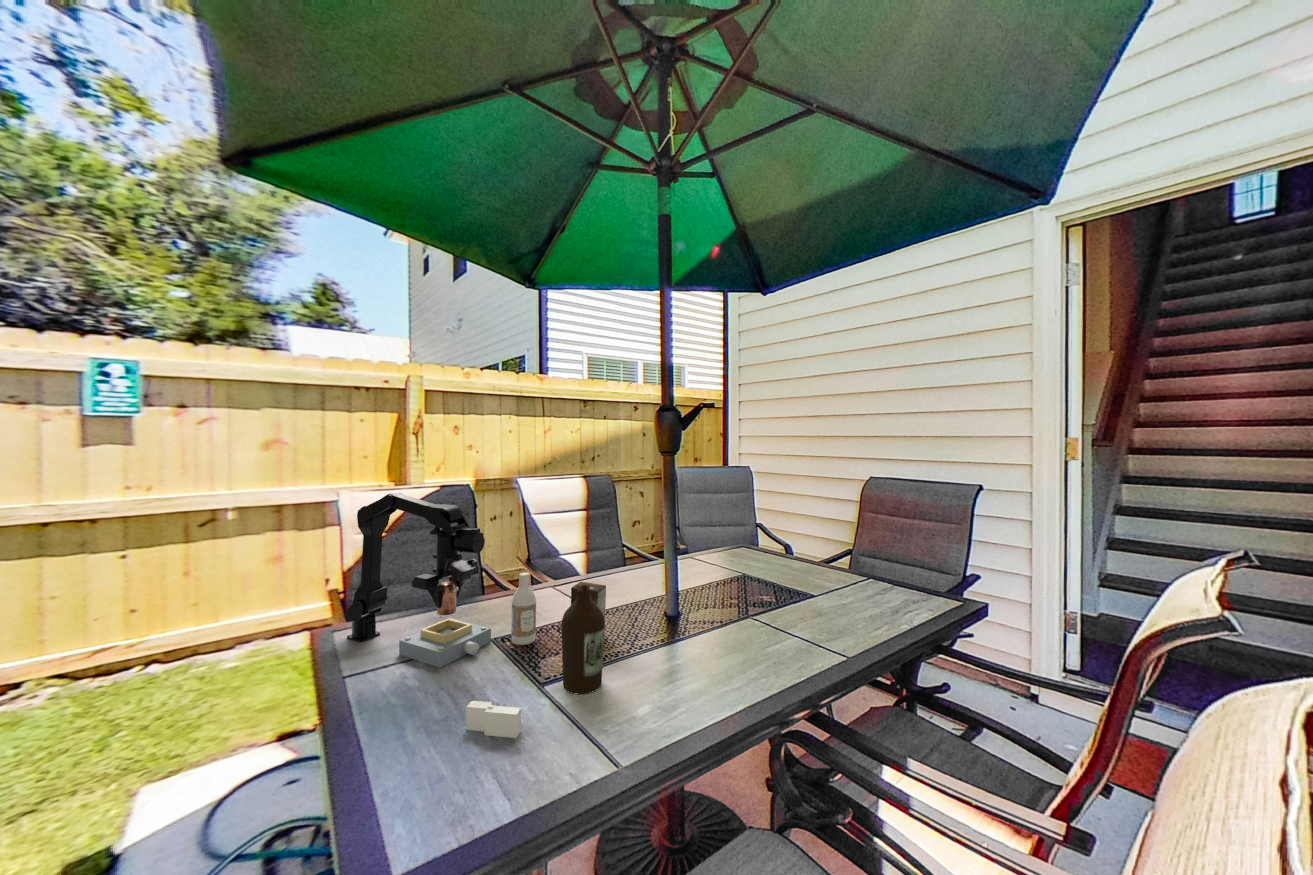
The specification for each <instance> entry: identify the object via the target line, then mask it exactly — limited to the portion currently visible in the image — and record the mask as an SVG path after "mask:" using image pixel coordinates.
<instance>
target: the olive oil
mask: <svg viewBox="0 0 1313 875" xmlns="http://www.w3.org/2000/svg"><path fill="white" fill-rule="evenodd" d="M580 582H581V583H579V582H578V583H576V584H577V599H576V600H575V602H574V603H573V604H572V605H571V604H570V606H569V607H568V608H567V609H566V610H565V612H564V613H563V616H562V618H561V623H560V624H561V625H560V628H561V653H562V654H561V656H562V686H564V687H563V689H564V688H565V689H566V690H567V691H566V690H565V689H564V690H565V691H566V692H568V691H569V692H568V693H570V692H572V693H571V694H573V693H578V694H577V695H585V694H584V693H588V694H590V693H589V692H591V693H593V692H592V691H594V692H596V691H597V690H598V688H599V687H601V686H602V681H603V680H602V678H603V668H604V666H605V661H604V644H605V642H604V641H605V638H604V630H605V631H606V619H605V620H604V616H603V613H602V611H601V610H600V608H599V607H598V606H597V605H596V604H595V603H594V602H593V601H592V600H591V599H590V590H591V589H590V583H591V582H587V581H580ZM596 689H597V690H596ZM599 689H600V688H599ZM595 690H596V691H595Z"/></svg>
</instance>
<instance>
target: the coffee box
mask: <svg viewBox="0 0 1313 875" xmlns="http://www.w3.org/2000/svg"><path fill="white" fill-rule="evenodd" d="M581 582H582V581H580V582H578V583H581ZM578 583H576V584H575V585H573V586H571V589H570V606H571V605H572V604H573V603H574V602H575V600H576V599H577V584H578ZM589 583H590V589H591V590H590V599H591V600H592V601H593V602H594V603H595V604H596V605H597V606H598V607H599V608H600V610H601V611H602V613H603V616H604V620H605V621H606V610H607V609H606V605H607V604H606V601H607V600H606V599H607V585H605V584H599V583H592V582H589ZM605 636H606V629H605V630H604V637H605ZM605 638H606V637H605Z"/></svg>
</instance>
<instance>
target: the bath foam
mask: <svg viewBox="0 0 1313 875" xmlns="http://www.w3.org/2000/svg"><path fill="white" fill-rule="evenodd" d="M518 575H519V576H518V587H517V589H516V590H515V592H514V594H513V596H512V599H511V633H510V634H511V636H510V638H511V643H512V644H513V645H517V646H528V645H530V644H532V643H534V642H535V640H536V636H537V635H536V634H537V633H536V632H537V630H536V629H537V627H536V626H537V598H536V594H535V592H534V590H533V589H532V588H531V586H530V573H529V572H521V573H519V574H518Z"/></svg>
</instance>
